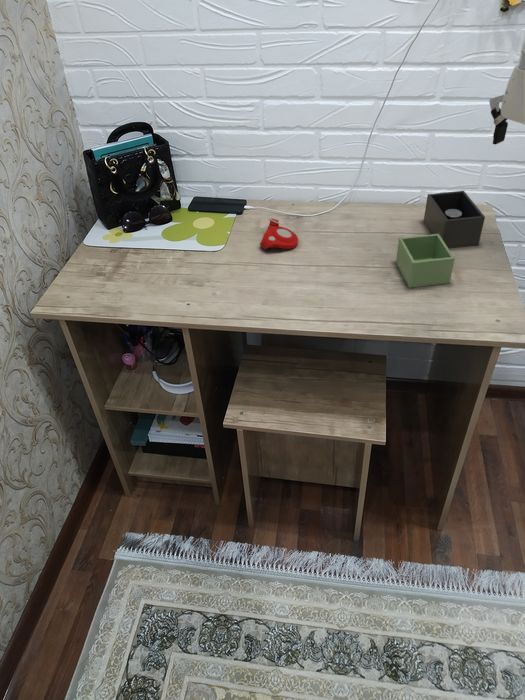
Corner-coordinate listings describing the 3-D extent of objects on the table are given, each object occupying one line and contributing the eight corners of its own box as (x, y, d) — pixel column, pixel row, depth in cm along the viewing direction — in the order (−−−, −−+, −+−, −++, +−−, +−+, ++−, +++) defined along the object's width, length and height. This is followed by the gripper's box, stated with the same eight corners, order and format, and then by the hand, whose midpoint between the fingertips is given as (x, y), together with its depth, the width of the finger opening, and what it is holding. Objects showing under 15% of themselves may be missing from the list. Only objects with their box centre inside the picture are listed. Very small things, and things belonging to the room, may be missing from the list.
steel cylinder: (460, 234, 140) (464, 216, 136) (445, 236, 139) (448, 217, 136) (454, 226, 142) (458, 208, 139) (439, 227, 142) (442, 209, 139)
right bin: (478, 245, 137) (485, 216, 132) (441, 249, 136) (446, 221, 131) (458, 217, 146) (463, 190, 141) (423, 221, 146) (427, 194, 141)
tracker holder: (307, 238, 141) (278, 246, 134) (301, 253, 144) (273, 261, 137) (276, 211, 146) (247, 217, 140) (271, 225, 149) (242, 232, 142)
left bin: (449, 283, 126) (454, 258, 122) (408, 287, 126) (412, 262, 121) (434, 258, 134) (438, 233, 129) (395, 262, 133) (398, 237, 129)
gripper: (594, 66, 105) (566, 156, 116) (512, 48, 115) (494, 133, 127) (570, 76, 102) (544, 167, 113) (489, 56, 112) (472, 142, 124)
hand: (517, 149), depth 120 cm, fingers open, 9 cm apart
